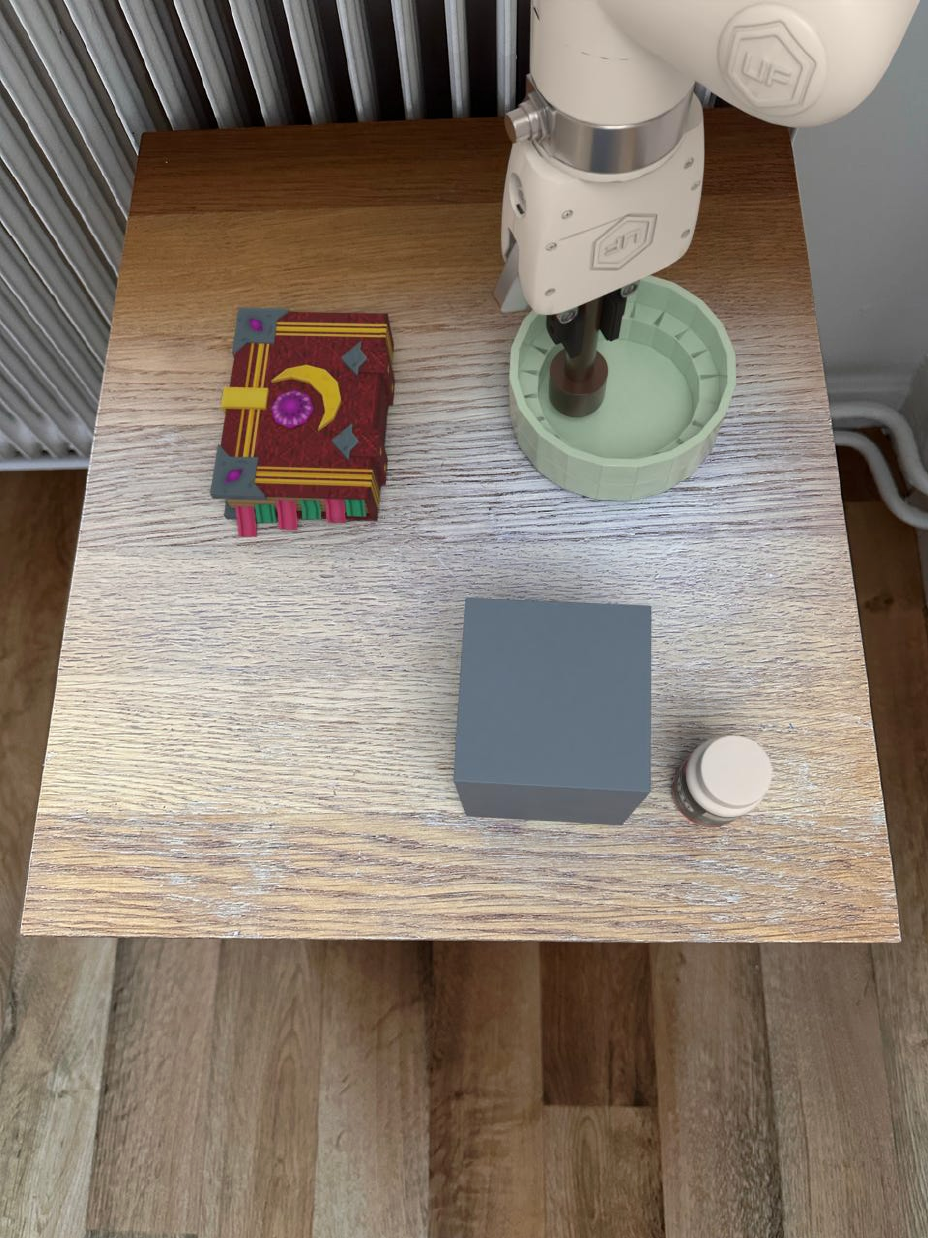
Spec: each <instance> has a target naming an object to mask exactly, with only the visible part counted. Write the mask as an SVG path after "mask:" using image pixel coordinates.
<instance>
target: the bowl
mask: <svg viewBox="0 0 928 1238" xmlns="http://www.w3.org/2000/svg"><path fill="white" fill-rule="evenodd" d="M563 349H564V347H563V345H562V343H560V344H558V345H555V344H554V342H553V341H552V339H551V337H550V336H549V334H548V331H547V327H546V315H540V314H536V313H535V312H534V311H533V309H531V311H530V312H528V314H527V315H526V316H525V317H524V318H523V320H522V321H521V323H520V326H519V328H518V330H517V333H516V335H515V337H514V340H513V343H512V344H511V347H510V355H509V356H510V357H509V371H508V372H509V374H508V386H509V387H508V389H509V392H508V394H509V395H508V396H509V404H508V405H509V420H510V423H511V426H512V430H513V432H514V436H515V440H516V442H517V445H518V446H519V448H520V449H521V451H522V452H523V453H524V455H525V456H526V457H527V459H528V460H529V462H530V463H531V464H532V466H533V467H534V468H535V469H536V470H537V472H539V473H540V474H542V475H543V476H544V477H546V478H547V479H548V480H550V481H552V482H553V483H554V484H556V485H557V486H558V487H560V488H561V489H563V490H565V491H569V492H571V493H575V494H577V495H580V496H584V497H587V498H588V499H589V498H590V499H593V500H596V501H621V502H622V501H624V502H630V501H636V500H639V499H643V498H647V497H653V496H656V495H659V494H663V493H665V492H667V491H669V490H671V489H672V488H674V487H675V486H676V485H678V484H680V483H682V482H683V481H684V480H687V479H688V478H689V477H691V476H692V475H693V474H694V473H695V472H696V470H697V469H698V468H699V467H700V466H701V464H702V463H703V462H704V461H705V459H707V458H708V456H709V455H710V453H711V452H712V451H713V448H714V446H715V443H716V441H717V438H718V435H719V432H720V430H721V427H722V425H723V423H724V420H725V417H726V416H727V415H726V414H727V412H728V409H729V406H730V404H731V402H732V399H733V395H734V392H735V391H736V390H735V389H736V388H737V360H736V358H737V357H736V356H737V355H736V352H735V349H734V347H733V344H732V342H731V340H730V337H729V335H728V332H727V330H726V327H725V325H724V324H723V322H722V321H721V320H720V319H719V317H718V316H717V315H716V314H715V313H714V312H713V310H712V309H711V308H710V307H709V306H708V305H707V304H706V303H705V302H704V301H703V300H702V299H701V298H700V297H699V296H696V295H695V294H693V293H692V292H690V291H689V290H687V289H685V288H684V287H682V286H680V285H679V284H677V283H676V282H673V281H670V280H668V279H664V278H661V277H656V276H654V275H649V276H646V277H644V278H642V279H640V282H639V287H638V289H637V290H636V291H635V292H634V293H633V294H632V295H630V296H628V297H627V301H626V307H625V313H624V316H622V322H621V328H620V334H619V338H618V339H616V340H614V341H611V342H610V341H609V340H608V341H607V340H606V339H605V337H604V336H603V334H602V333H601V331H600V329H599V336H598V343H597V351H598V352H600V353H601V354H602V355H603V357H604V358H605V360H606V362H607V364H608V378H607V384H606V390H605V397H604V400H603V403H602V405H601V406H600V407H599V409H598V410H596V411H595V412H594V413H592V414H590V415H588V416H585V417H579V418H575V417H568V416H565V415H563V414H561V413H560V412H558V411H557V410H556V409H555V408H554V407H553V405H552V404H551V402H550V399H549V375H550V365H551V362H552V360H553V358H554V357H555V356H556V354H557V353H558V352H560V351H561V350H563Z"/></svg>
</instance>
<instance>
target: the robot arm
mask: <svg viewBox="0 0 928 1238" xmlns="http://www.w3.org/2000/svg"><path fill="white" fill-rule="evenodd" d="M920 2H921V0H530V32H529V33H530V34H529V38H530V39H529V73H528V74H526V75H525V97H524V99H523V100H522V102H521V103H519V104H518V105H517V108H515V109H513V110H511V111H508V112H505V113H504V115H503V122H504V129H505V131H506V134H507V136H508V138H509V140H510V141H511V143H512V145H511V146H512V147H511V150H510V153H509V159H508V162H507V163H508V164H507V169H506V170H507V171H506V175H505V180H504V181H505V182H504V189H503V196H502V207H501V209H502V210H501V226H500V227H501V228H500V235H501V236H500V245H501V255H502V259H503V261H504V265H503V267H502V269H501V272H500V274H499V276H498V278H497V280H496V282H495V285H494V287H493V289H492V292H491V297H492V298H493V300H494V301H495V304H496V305H497V307H498V309H499V311H500V312H501V313H503V314H508V313H514V312H515V313H516V312H521V311H527V310H528V309H530V308H531V310H533V311H534V312H535V313H536V314H540V315H546V327H547V331H548V334H549V336H550V337H551V339H552V341H553V342H554V344H555V345H558V344H560V343H562V345H563V347H564V348H565V350H566V352H567V353H568V355H569V357H570V358H571V359H573V358H575V357H577V356H579V355H580V353H581V352H582V344H583V335H584V326H585V318H584V315H583V314H582V312H581V310H580V309H579V307H578V306H580V305H582V304H584V303H587V302H589V301H591V300H594V299H596V298H598V297H601V296H603V295H604V299H603V306H602V314H601V321H600V328H599V329H600V331H601V333H602V334H603V336H604V337H605V339H606V340H607V341H608V340H609V341H610V342H611V341H614V340H616V339H618V338H619V334H620V328H621V322H622V316H624V313H625V307H626V301H627V297H628V296H630V295H632V294H633V293H634V292H635V291H636V290H637V289H638V287H639V282H640V279H642V278H644V277H646V276H649V275H650V276H652V275H653V274H655V273H657V272H659V271H661V270H664V269H666V268H668V267H669V266H672V264H675V262H677V261H679V260H680V259H681V258H682V257H683V256H685V254H686V253H687V251H688V249H689V248H690V245H691V243H692V240H693V237H694V233H695V230H696V226H697V221H698V215H699V210H700V205H701V204H700V203H701V198H702V191H703V190H702V189H703V183H704V182H703V181H704V172H705V128H704V126H705V125H704V112H703V111H704V110H703V106H702V103H701V100H700V99H699V97H698V96H697V95H696V93H695V89H696V88H695V87H696V83H698V84H699V85H701V86H702V87H704V88H705V89H706V90H708V91H709V92H710V93H712V94H714V95H716V96H717V97H719V98H720V99H722V100H723V101H725V102H726V103H728V104H729V105H731V106H733V107H735V108H737V109H739V110H740V111H742V112H744V113H746V114H748V115H749V116H751V117H755V118H756V119H759V120H761V121H763V122H766V123H770V124H773V125H778V126H783V127H789V128H793V129H794V128H813V127H819V126H823V125H827V124H829V123H832V122H834V121H836V120H839V119H841V118H843V117H845V116H846V115H848V114H849V113H851V112H852V111H854V110H855V109H856V108H858V106H860V105H861V104H862V103H863V102H864V101H865V100H866V99H867V98H868V97H869V96H870V95H871V93H872V92H873V91H874V90H875V88H876V87H877V86H878V84H879V83H880V81H881V80H882V78H883V77H884V75H885V73H886V72H887V70H888V68H889V67H890V64H891V62H892V60H893V58H894V56H895V54H896V53H897V51H898V49H899V47H900V45H901V43H902V40H903V38H904V36H905V34H906V32H907V30H908V27H909V25H910V23H911V21H912V19H913V17H914V15H915V13H916V10H917V8H918V6H919V4H920Z"/></svg>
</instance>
